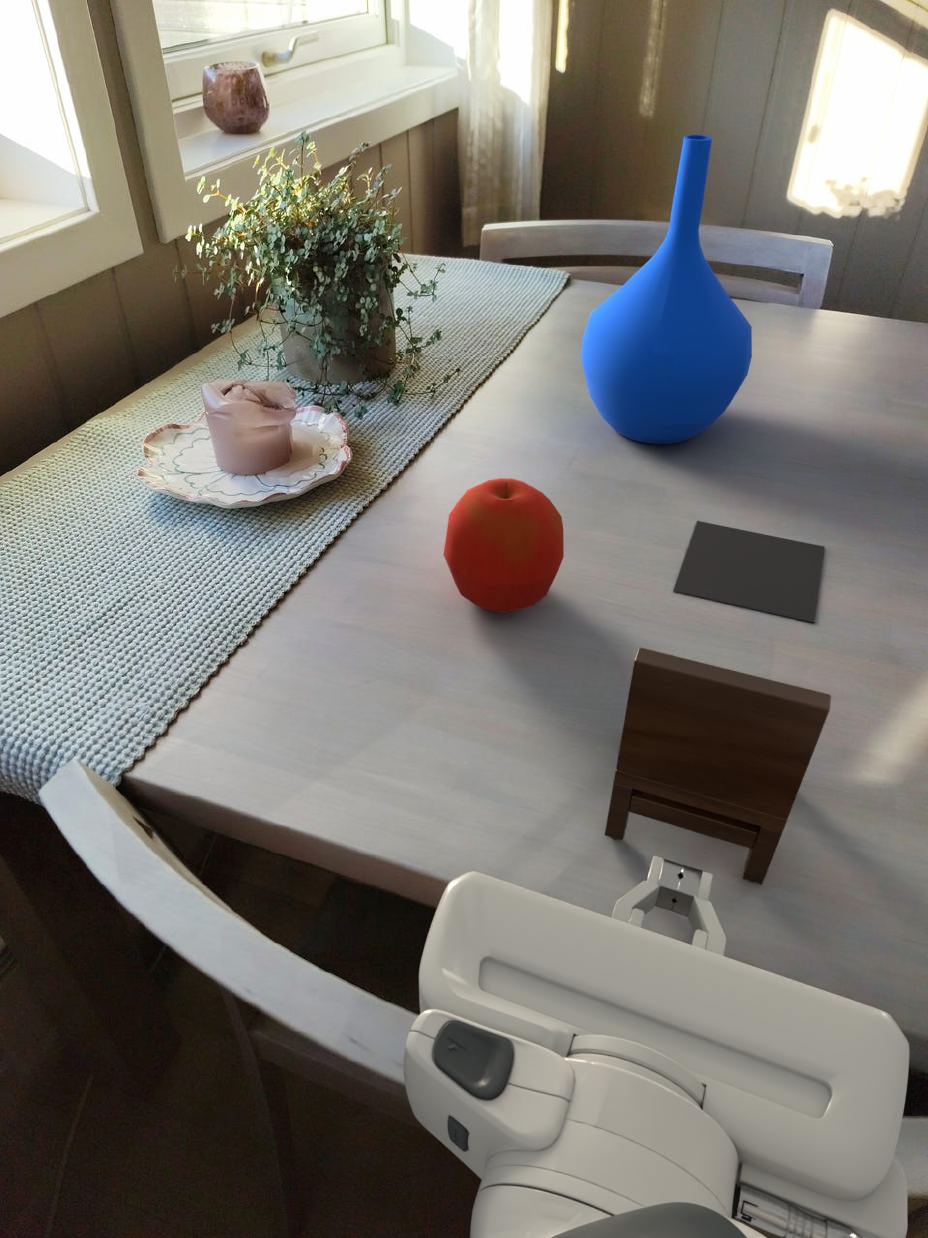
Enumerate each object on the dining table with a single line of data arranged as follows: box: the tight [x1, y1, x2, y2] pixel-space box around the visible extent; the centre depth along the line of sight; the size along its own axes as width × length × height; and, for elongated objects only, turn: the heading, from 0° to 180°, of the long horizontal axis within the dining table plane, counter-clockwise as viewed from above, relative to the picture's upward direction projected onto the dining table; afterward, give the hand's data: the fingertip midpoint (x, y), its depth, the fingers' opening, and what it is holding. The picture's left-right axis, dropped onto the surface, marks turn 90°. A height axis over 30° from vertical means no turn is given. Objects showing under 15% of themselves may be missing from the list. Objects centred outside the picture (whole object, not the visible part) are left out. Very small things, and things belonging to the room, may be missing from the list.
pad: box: [672, 520, 825, 624], centre depth 79 cm, size 12×12×1 cm
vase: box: [580, 134, 753, 445], centre depth 91 cm, size 18×18×30 cm
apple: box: [443, 477, 565, 613], centre depth 73 cm, size 10×10×12 cm
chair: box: [604, 646, 832, 885], centre depth 54 cm, size 10×10×16 cm
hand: (681, 871), depth 43 cm, fingers closed
